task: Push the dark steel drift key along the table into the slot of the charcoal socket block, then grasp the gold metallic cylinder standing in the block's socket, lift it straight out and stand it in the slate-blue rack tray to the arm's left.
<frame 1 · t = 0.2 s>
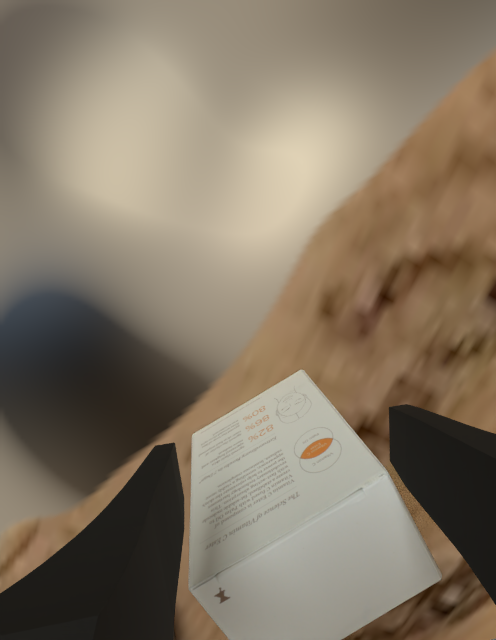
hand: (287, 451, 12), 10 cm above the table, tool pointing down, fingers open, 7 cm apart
small box: (267, 431, 23), on the table
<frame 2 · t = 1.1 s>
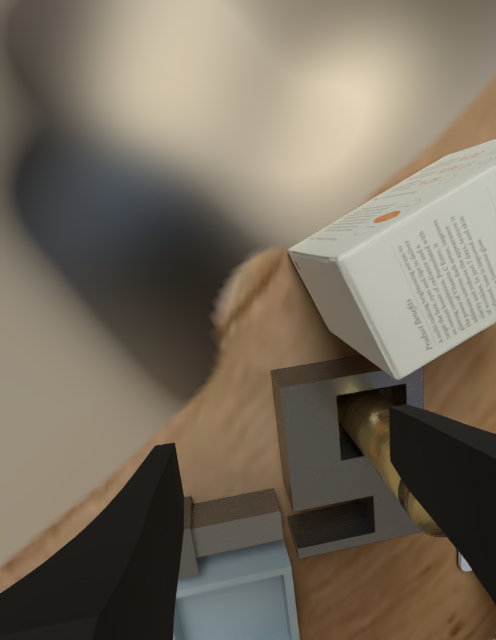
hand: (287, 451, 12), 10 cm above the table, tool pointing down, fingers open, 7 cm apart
rack tray: (230, 594, 25), on the table
gold metallic cylinder: (354, 402, 23), resting in socket block
drift key: (224, 527, 22), point 1 cm above the table, slide at 0.0 cm
socket block: (341, 440, 23), on the table
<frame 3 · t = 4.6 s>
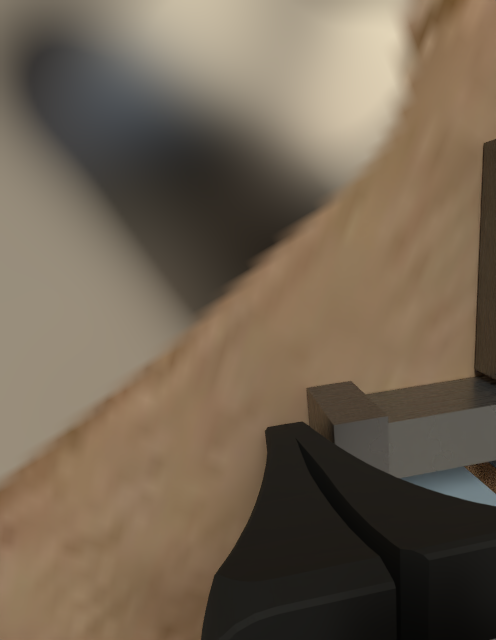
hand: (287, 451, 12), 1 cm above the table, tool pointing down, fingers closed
rack tray: (364, 566, 15), on the table
drift key: (420, 432, 12), point 1 cm above the table, slide at 1.2 cm, touching gripper
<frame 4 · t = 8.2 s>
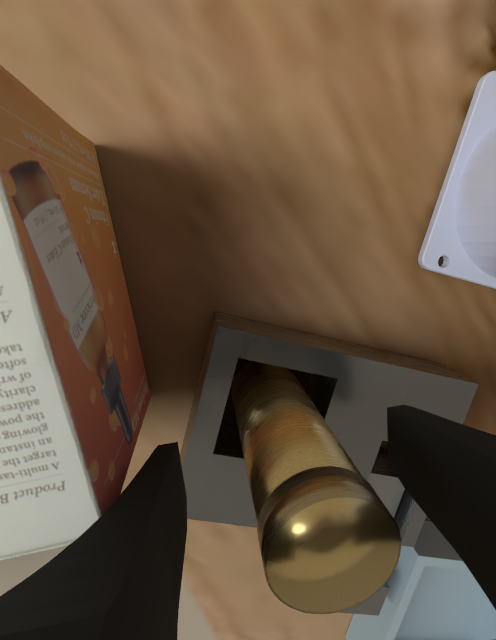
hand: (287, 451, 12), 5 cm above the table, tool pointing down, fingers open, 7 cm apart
rack tray: (431, 584, 21), on the table
gold metallic cylinder: (263, 389, 17), resting in socket block
drift key: (358, 528, 17), point 1 cm above the table, slide at 3.6 cm
socket block: (308, 418, 17), on the table
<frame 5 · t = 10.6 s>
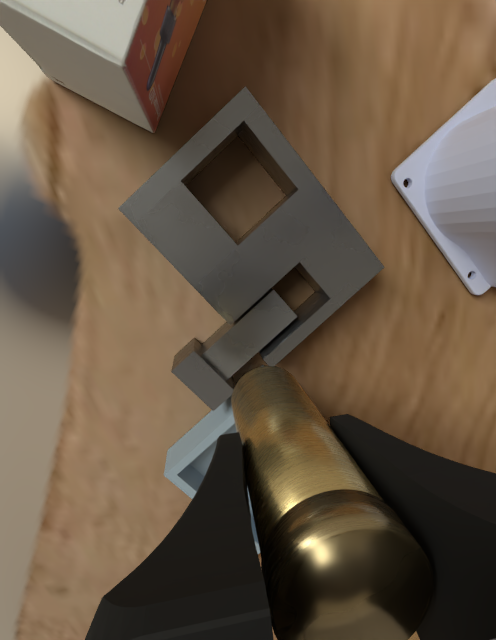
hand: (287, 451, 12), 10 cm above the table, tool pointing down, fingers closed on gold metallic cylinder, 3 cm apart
rack tray: (257, 447, 24), on the table
gold metallic cylinder: (266, 399, 15), point 7 cm above the table, touching gripper
drift key: (237, 342, 20), point 1 cm above the table, slide at 3.6 cm
socket block: (252, 239, 21), on the table
when the fingers open (5 cm above the table, at t = 12.4 s): gold metallic cylinder stays where it is, resting on rack tray.
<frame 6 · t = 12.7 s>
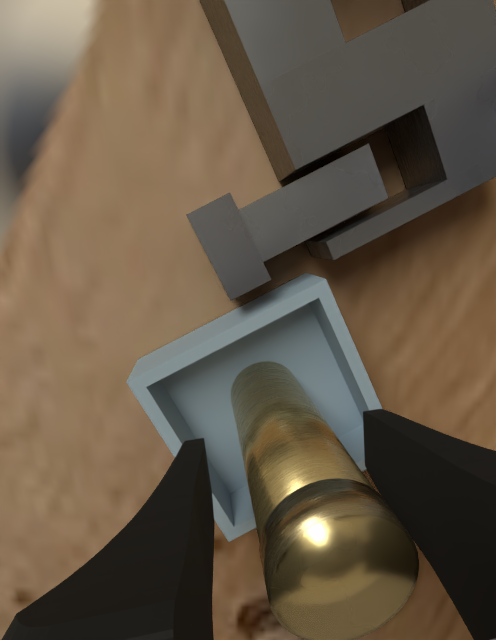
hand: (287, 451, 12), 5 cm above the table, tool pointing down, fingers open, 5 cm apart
rack tray: (263, 392, 16), on the table
gold metallic cylinder: (264, 393, 16), point 1 cm above the table, touching rack tray
drift key: (289, 215, 14), point 1 cm above the table, slide at 3.6 cm
socket block: (347, 79, 14), on the table
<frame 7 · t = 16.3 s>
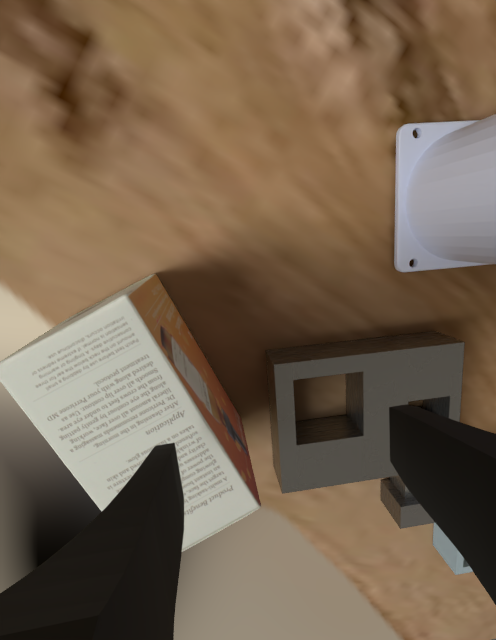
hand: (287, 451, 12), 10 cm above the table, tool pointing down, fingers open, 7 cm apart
small box: (86, 304, 16), point 4 cm above the table
rack tray: (486, 489, 27), on the table
drift key: (414, 465, 24), point 1 cm above the table, slide at 3.6 cm
socket block: (353, 399, 24), on the table
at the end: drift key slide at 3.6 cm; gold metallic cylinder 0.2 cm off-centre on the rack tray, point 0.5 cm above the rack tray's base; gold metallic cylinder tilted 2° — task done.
